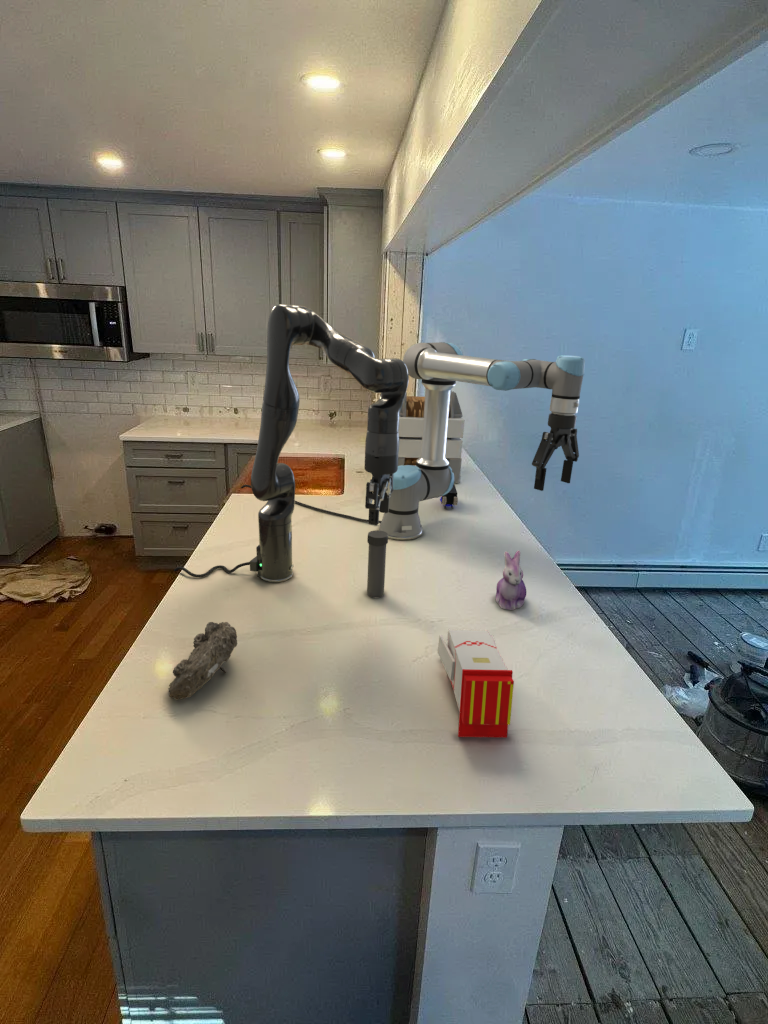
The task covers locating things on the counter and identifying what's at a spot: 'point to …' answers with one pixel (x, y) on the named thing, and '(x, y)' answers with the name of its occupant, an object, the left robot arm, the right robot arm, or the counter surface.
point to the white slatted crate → (413, 431)
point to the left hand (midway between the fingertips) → (378, 518)
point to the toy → (478, 682)
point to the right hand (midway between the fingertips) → (552, 485)
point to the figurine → (511, 584)
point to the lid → (377, 538)
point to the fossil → (203, 659)
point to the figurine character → (450, 498)
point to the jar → (376, 571)
